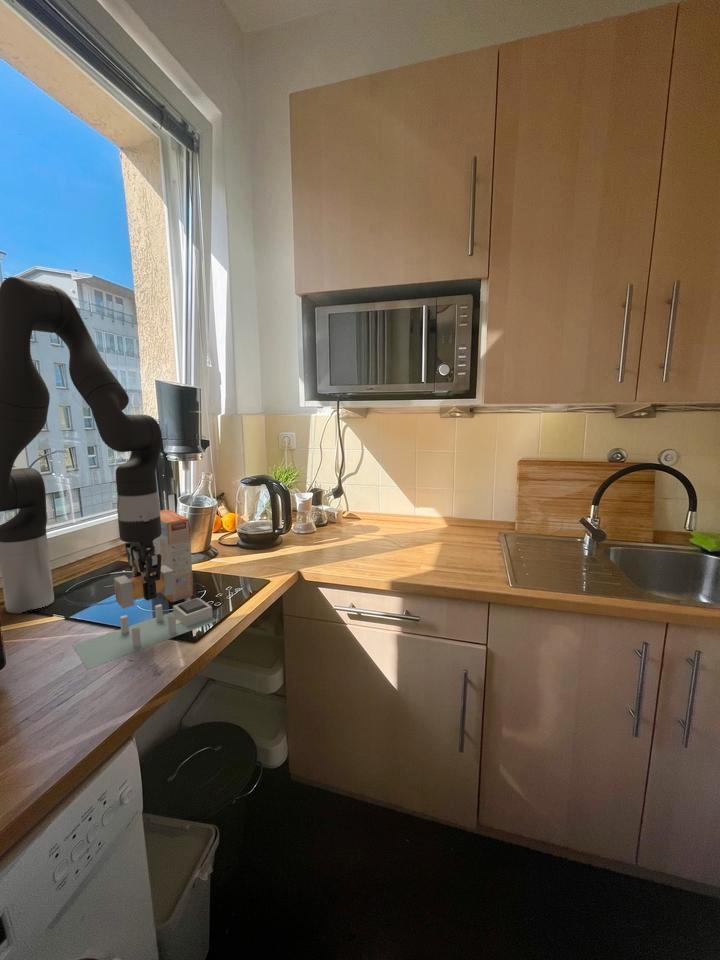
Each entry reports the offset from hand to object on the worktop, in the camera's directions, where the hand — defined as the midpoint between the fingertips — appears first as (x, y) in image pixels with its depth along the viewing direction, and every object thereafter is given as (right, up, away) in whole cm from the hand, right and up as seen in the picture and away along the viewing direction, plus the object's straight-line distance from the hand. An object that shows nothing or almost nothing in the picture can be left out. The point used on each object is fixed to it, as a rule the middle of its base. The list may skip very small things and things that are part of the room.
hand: (146, 594), depth 86 cm
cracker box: (-4, -6, +22) cm, 23 cm away
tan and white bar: (0, -1, 0) cm, 0 cm away
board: (0, -9, +2) cm, 9 cm away
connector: (+6, -7, +8) cm, 13 cm away
